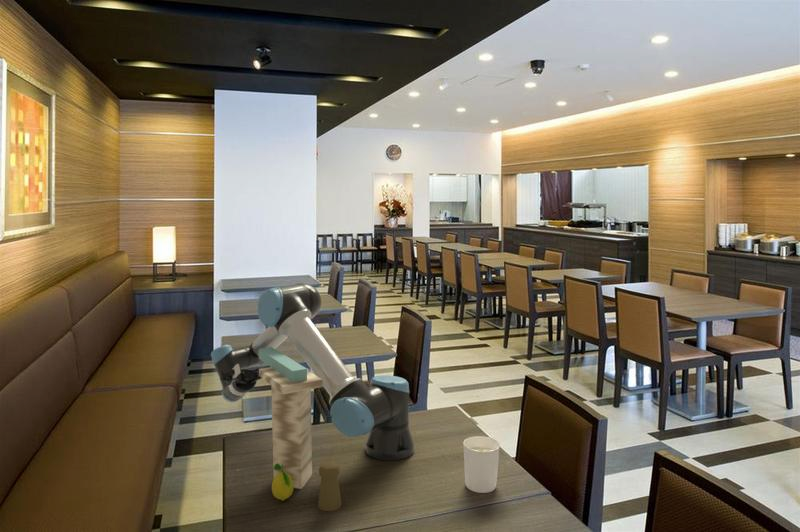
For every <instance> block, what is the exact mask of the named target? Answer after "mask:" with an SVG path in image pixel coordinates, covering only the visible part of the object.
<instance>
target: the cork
mask: <svg viewBox="0 0 800 532" xmlns="http://www.w3.org/2000/svg"><path fill="white" fill-rule="evenodd" d="M318 473H319V476H320V477H321V478H320V485H319V494H318V501H317V507H318V509H320V511H324V512H333V511H334V512H335V511H337V510H339V509H340V508H341V506H342V497H341V490H340V485H339V477H338V476H339V475H340V465H339V464H338V463H337V462H336V461H332V460H331V461H325V462H322V463H321V464H320V465H319V468H318Z"/></svg>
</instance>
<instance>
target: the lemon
mask: <svg viewBox="0 0 800 532" xmlns="http://www.w3.org/2000/svg"><path fill="white" fill-rule="evenodd" d="M274 469H275V470H281V469H282V472H281V473H278V474H277V475H276V476H275V477H274V476H273V480H272V483H271V492H272V495H273V496H274V498H276V499H278V500H280V501H282V502H284V501H285V500H287V499H288V498H290V497H291V495H292V494H293V491H294V488H293V480H292V478H291V476H290V475H289V474H288V473H285V472H283V464H282V466H280V465H279V464H278V463H277V464H275V466H274Z"/></svg>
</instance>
